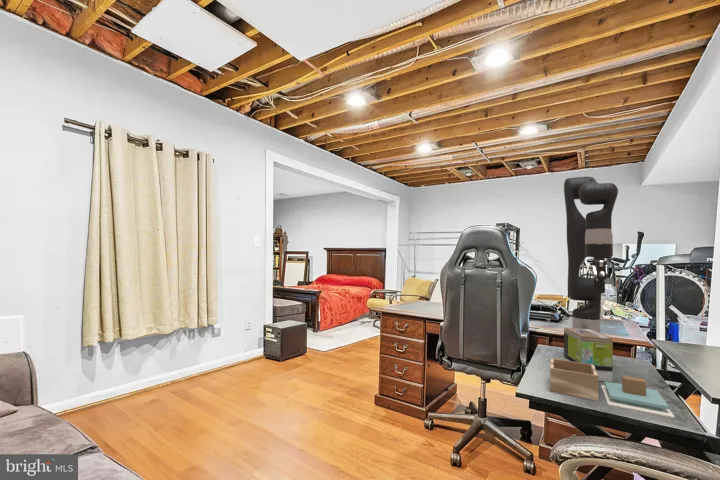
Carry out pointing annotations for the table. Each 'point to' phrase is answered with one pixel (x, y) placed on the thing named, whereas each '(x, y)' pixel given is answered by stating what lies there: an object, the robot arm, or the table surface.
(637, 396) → the lid
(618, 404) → the mat
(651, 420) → the table surface
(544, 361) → the table surface
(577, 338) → the tea box
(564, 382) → the crate
